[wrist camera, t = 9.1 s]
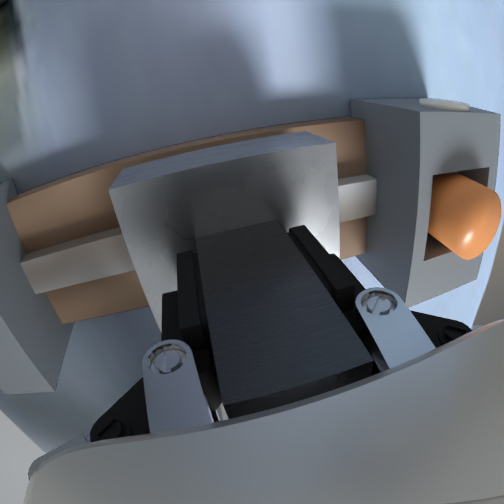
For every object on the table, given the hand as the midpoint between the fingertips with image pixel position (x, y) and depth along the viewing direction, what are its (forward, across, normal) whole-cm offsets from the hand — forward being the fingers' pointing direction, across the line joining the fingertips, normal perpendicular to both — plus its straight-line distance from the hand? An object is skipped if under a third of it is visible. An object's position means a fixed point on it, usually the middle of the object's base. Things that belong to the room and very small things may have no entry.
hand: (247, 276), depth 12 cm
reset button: (+3, -11, 0) cm, 11 cm away
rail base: (+7, +1, 0) cm, 7 cm away
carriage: (+4, 0, 0) cm, 4 cm away
